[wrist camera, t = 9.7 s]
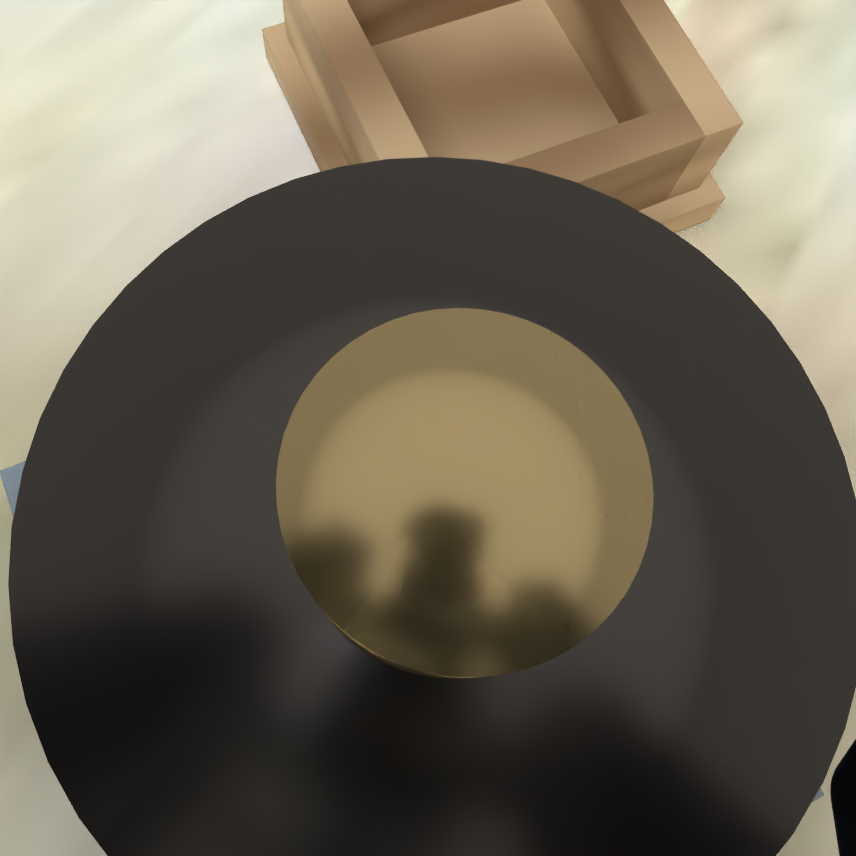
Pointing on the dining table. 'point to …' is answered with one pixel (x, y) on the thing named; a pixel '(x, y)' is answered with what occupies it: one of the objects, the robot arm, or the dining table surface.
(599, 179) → the brown wooden square box
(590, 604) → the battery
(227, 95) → the dining table surface
